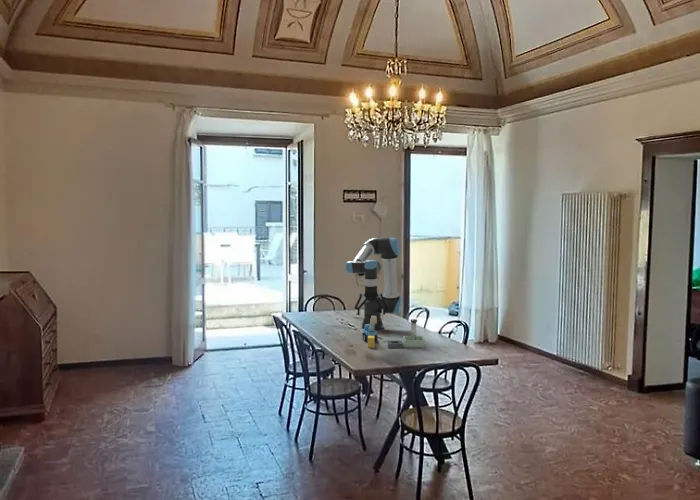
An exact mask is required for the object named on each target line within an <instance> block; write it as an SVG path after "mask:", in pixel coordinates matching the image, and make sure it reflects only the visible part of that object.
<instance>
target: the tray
mask: <svg viewBox="0 0 700 500" xmlns="http://www.w3.org/2000/svg"><path fill="white" fill-rule="evenodd" d="M402 342H403V348H405V349H410V348H411V349H413V348H414V349H419V348H421V349H422V348H423V349H425V348H426V347H425V339H424V337H423V335H416V340H411V335H403V336H402Z"/></svg>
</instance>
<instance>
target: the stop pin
mask: <svg viewBox="0 0 700 500" xmlns="http://www.w3.org/2000/svg"><path fill="white" fill-rule="evenodd" d="M410 322H411V323H410V324H411V326H410V331H411V332H410V333H411V334H410V336H411V340H416V336H417V322H418V319H415V318H412V319H410Z"/></svg>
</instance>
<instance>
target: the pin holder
mask: <svg viewBox="0 0 700 500" xmlns="http://www.w3.org/2000/svg"><path fill="white" fill-rule="evenodd" d="M386 343H387V344H386V345H387V349H403V348H404V344H403V340H387V341H386Z"/></svg>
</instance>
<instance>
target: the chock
mask: <svg viewBox="0 0 700 500" xmlns="http://www.w3.org/2000/svg"><path fill="white" fill-rule="evenodd" d="M375 344H376V343H375V337H374V336H368V341H367V348H373V349H374V348H375V346H376V345H375Z"/></svg>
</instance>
